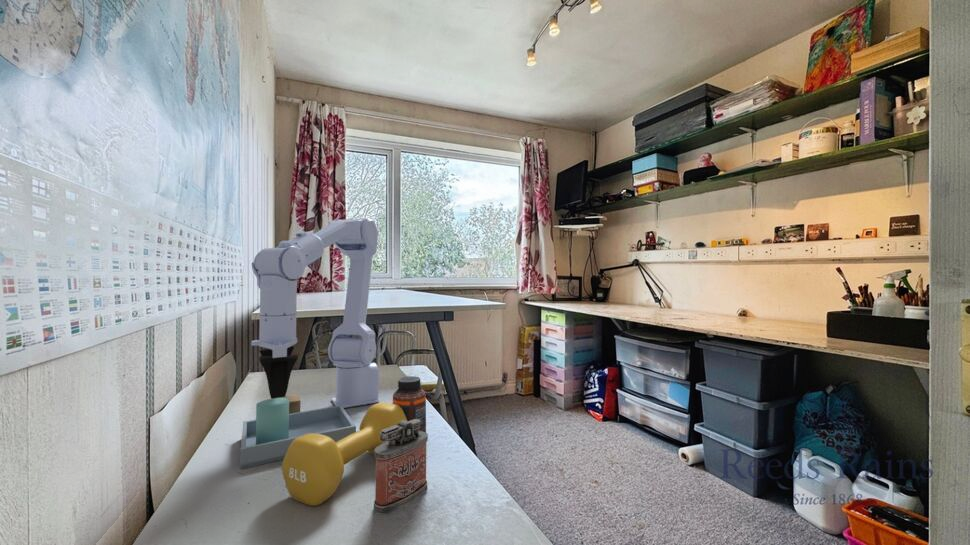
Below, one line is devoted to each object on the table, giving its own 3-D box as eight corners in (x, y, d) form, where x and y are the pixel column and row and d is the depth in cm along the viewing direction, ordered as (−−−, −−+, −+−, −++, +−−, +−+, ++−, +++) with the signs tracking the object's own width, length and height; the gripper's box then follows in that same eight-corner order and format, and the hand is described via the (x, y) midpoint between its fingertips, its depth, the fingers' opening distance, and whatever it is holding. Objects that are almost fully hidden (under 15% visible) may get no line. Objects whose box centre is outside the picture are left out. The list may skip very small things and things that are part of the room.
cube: (297, 417, 78) (298, 394, 78) (300, 425, 74) (300, 400, 74) (270, 422, 76) (270, 397, 76) (271, 430, 71) (271, 404, 71)
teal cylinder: (259, 438, 66) (260, 399, 66) (290, 434, 68) (291, 396, 68) (252, 451, 61) (253, 408, 61) (286, 446, 63) (286, 405, 63)
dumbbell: (374, 442, 66) (374, 397, 66) (415, 453, 62) (415, 404, 62) (273, 498, 49) (274, 437, 49) (321, 518, 45) (322, 450, 45)
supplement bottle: (429, 435, 69) (430, 374, 69) (421, 449, 63) (421, 383, 63) (398, 434, 70) (399, 374, 70) (387, 448, 64) (387, 382, 64)
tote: (341, 419, 77) (341, 405, 77) (355, 443, 66) (355, 426, 66) (242, 438, 68) (243, 421, 68) (240, 469, 57) (240, 449, 57)
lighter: (416, 480, 53) (417, 411, 54) (432, 489, 51) (433, 417, 51) (368, 507, 47) (368, 428, 47) (383, 518, 45) (384, 435, 45)
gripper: (252, 312, 70) (251, 384, 69) (251, 319, 57) (249, 407, 57) (294, 311, 73) (293, 379, 73) (301, 317, 61) (300, 399, 61)
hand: (277, 391), depth 65 cm, fingers open, 7 cm apart
